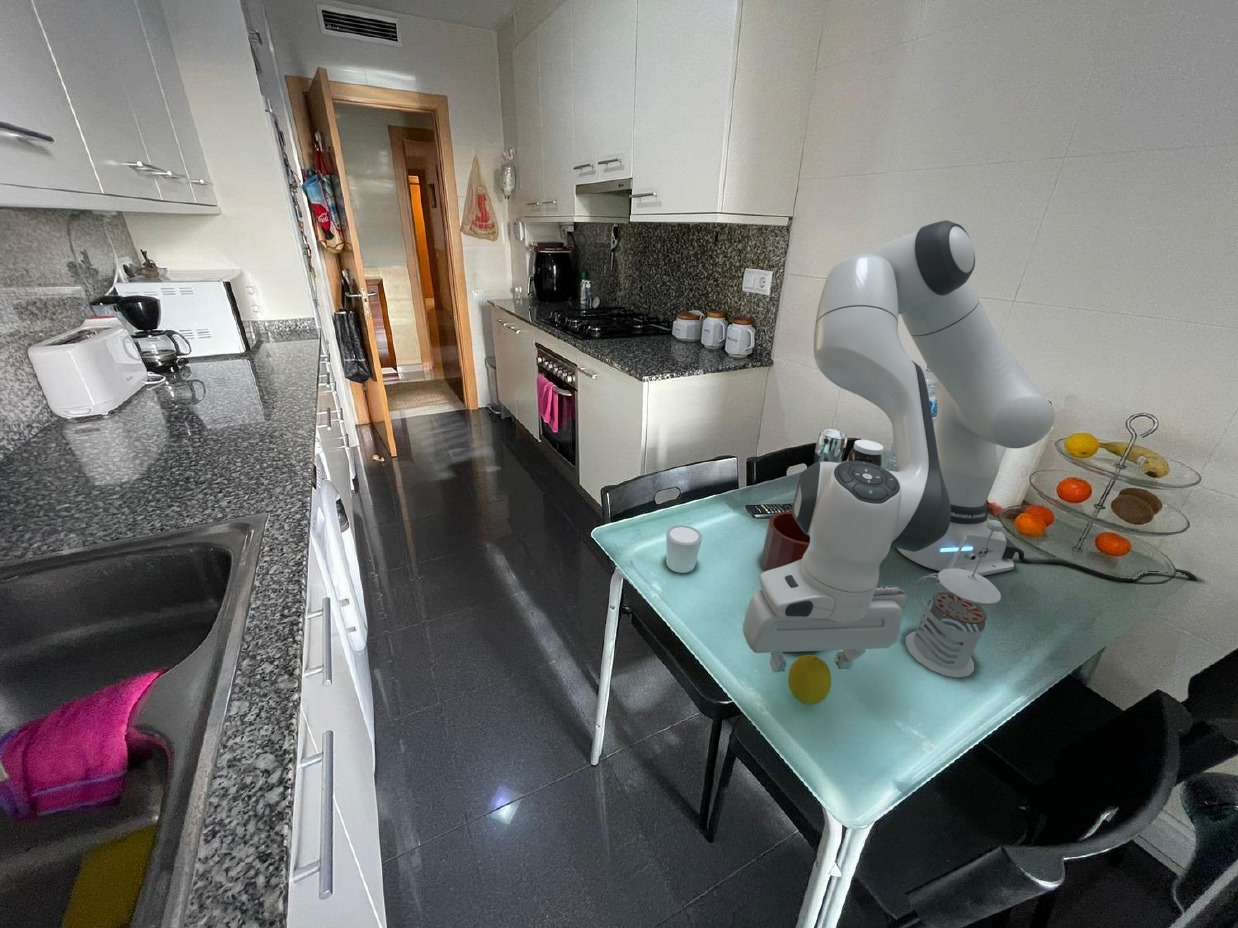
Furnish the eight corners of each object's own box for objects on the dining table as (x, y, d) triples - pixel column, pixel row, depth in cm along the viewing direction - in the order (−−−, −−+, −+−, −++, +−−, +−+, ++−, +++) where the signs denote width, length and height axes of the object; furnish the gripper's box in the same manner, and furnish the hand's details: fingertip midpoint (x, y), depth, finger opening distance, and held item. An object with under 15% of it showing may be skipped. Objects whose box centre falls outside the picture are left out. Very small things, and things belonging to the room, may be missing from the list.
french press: (947, 685, 75) (1011, 547, 64) (882, 632, 84) (929, 503, 74) (988, 666, 79) (1056, 533, 68) (922, 617, 88) (972, 493, 77)
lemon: (826, 720, 68) (841, 678, 65) (785, 712, 69) (796, 670, 66) (820, 687, 73) (833, 647, 70) (781, 680, 74) (792, 640, 71)
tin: (805, 549, 105) (815, 511, 101) (832, 585, 95) (844, 544, 91) (752, 550, 104) (760, 511, 100) (773, 587, 94) (783, 545, 89)
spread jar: (840, 474, 139) (850, 435, 134) (883, 480, 137) (895, 441, 132) (845, 493, 129) (857, 452, 124) (893, 501, 126) (906, 460, 121)
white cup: (657, 557, 100) (660, 528, 97) (686, 550, 103) (690, 522, 100) (673, 578, 95) (677, 547, 92) (704, 570, 97) (709, 540, 94)
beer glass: (802, 485, 132) (815, 432, 126) (813, 477, 137) (826, 426, 130) (828, 494, 128) (842, 441, 121) (838, 486, 133) (853, 434, 126)
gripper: (895, 570, 67) (867, 646, 73) (748, 573, 65) (732, 651, 71) (926, 602, 61) (893, 682, 67) (765, 606, 59) (746, 689, 65)
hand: (809, 666), depth 69 cm, fingers open, 8 cm apart
